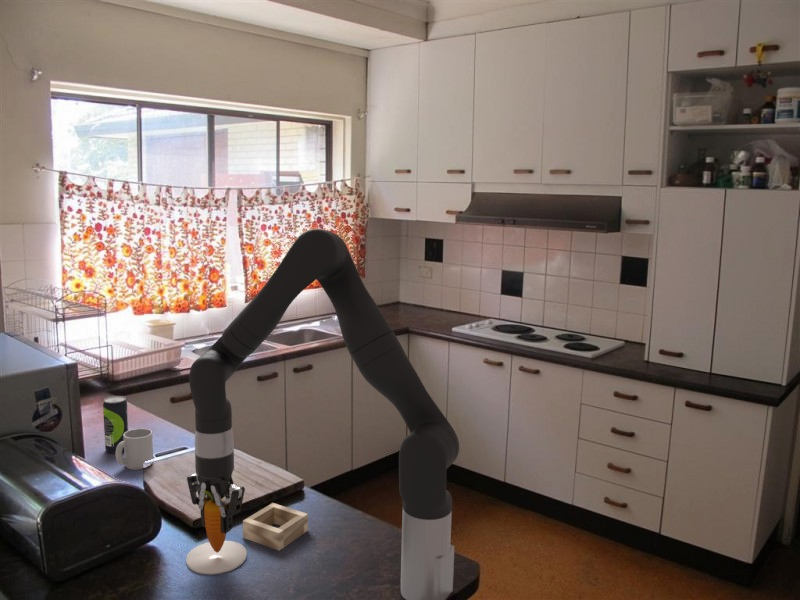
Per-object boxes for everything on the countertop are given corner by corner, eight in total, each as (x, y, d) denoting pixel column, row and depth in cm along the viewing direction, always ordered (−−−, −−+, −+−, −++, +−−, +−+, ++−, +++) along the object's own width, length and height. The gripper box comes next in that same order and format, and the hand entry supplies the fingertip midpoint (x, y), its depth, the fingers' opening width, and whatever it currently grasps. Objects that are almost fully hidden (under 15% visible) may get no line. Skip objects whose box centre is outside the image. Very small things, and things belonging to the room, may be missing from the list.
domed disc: (258, 553, 146) (258, 550, 146) (217, 581, 136) (217, 578, 136) (216, 537, 152) (216, 535, 152) (173, 563, 142) (173, 560, 142)
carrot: (223, 560, 141) (221, 490, 138) (200, 557, 142) (198, 487, 139) (233, 547, 146) (232, 480, 143) (211, 544, 147) (209, 477, 144)
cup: (158, 464, 189) (157, 433, 188) (123, 475, 182) (121, 443, 180) (144, 457, 194) (143, 426, 192) (109, 467, 186) (108, 436, 185)
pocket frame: (307, 530, 156) (307, 513, 155) (279, 550, 148) (279, 533, 147) (272, 519, 161) (272, 502, 160) (243, 537, 152) (242, 520, 152)
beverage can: (129, 452, 197) (127, 401, 194) (105, 455, 194) (102, 403, 192) (128, 444, 202) (126, 394, 200) (105, 447, 200) (102, 396, 197)
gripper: (254, 450, 140) (255, 529, 143) (202, 436, 147) (204, 512, 150) (228, 463, 133) (230, 546, 136) (174, 448, 140) (177, 527, 143)
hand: (216, 528), depth 143 cm, fingers closed on carrot, 4 cm apart
